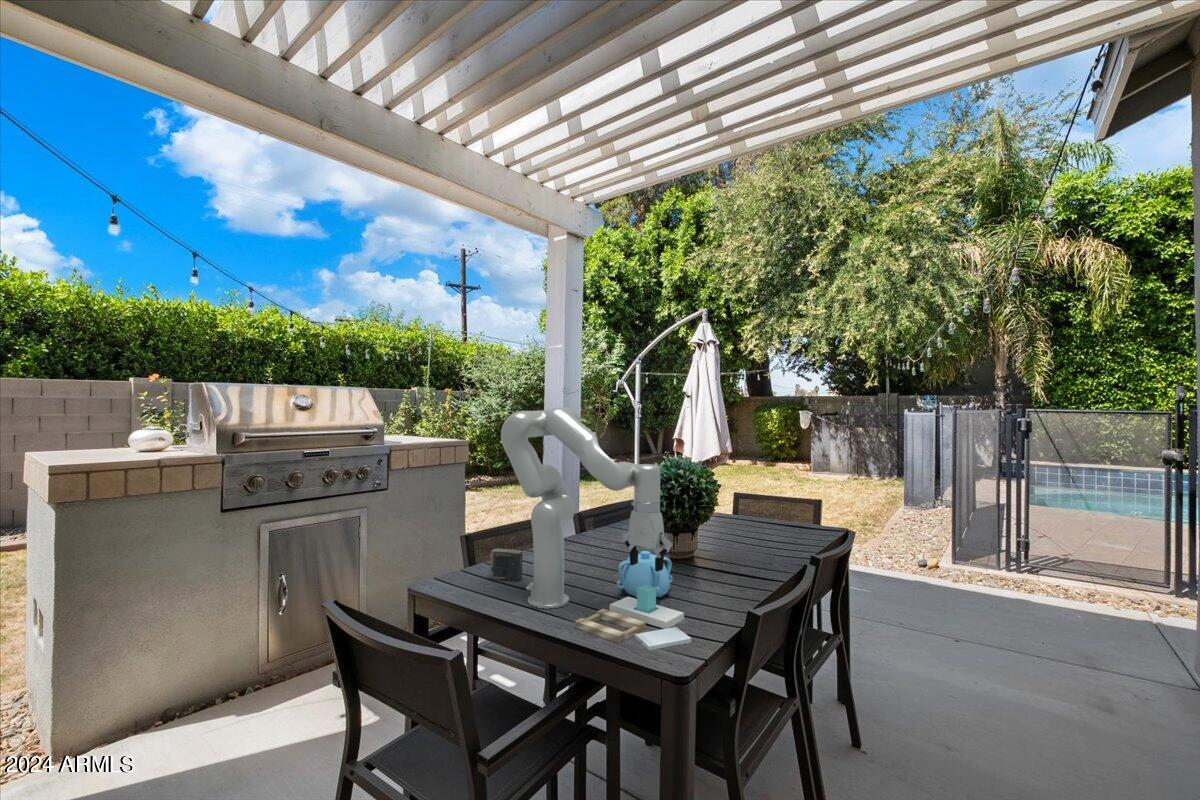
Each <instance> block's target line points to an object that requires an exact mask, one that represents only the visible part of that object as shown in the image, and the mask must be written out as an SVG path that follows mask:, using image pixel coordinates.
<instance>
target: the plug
mask: <svg viewBox="0 0 1200 800" xmlns="http://www.w3.org/2000/svg"><path fill="white" fill-rule="evenodd" d="M656 605H657V597H656V588H655V587H651V586H647V585H643V586H641V587H639V588H637V610H638V611H641V612H645V613H648V614H649V613H651V612H653V611H655V610H656Z"/></svg>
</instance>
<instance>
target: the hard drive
mask: <svg viewBox="0 0 1200 800" xmlns="http://www.w3.org/2000/svg"><path fill="white" fill-rule="evenodd" d="M633 638H634V639H636V640H637V641H638V642H639V643H640V644H641V645H643V647H645V649H646V650H648V651H651V650H656V649H657V650H658V649H662V648H668V646H669V647H673V645H674V646H678V645H679V644H680V645H684V643H685V644H689V643H690V642H691V643H692V638H691V637H690V636H689V635H688V634H687V633H685V632H684V631H682V630H681V629H679V628H678V627H677V626H672V627H670V628H667V629H663V628H660V629H655V630H652V631H645V632H639V633H637V634H634V635H633ZM691 643H690V644H691Z"/></svg>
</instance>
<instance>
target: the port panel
mask: <svg viewBox="0 0 1200 800" xmlns="http://www.w3.org/2000/svg"><path fill="white" fill-rule="evenodd" d="M608 611H612V612H615V613H618V614H621V615H624V616H627V617H630V618H634V619H637V620H640V621H643V622H646V624H649V625H651V626H653V627H654V626H655V627H658V628H660V629H667V628H673V627H675V625H677V624H679V623H681V622H683V621H684V620H685V613H684V612H683V611H681V610H680V611H678V610H676V609H672V608H668V607H666V606H662V605H658V604H656V610H655V611H653V612H651V613H649V614H648V613H645V612H641V611H638V610H637V599H636V597H631V596H626V597H624V598H622V599H619V600H616V601H614V602H613V603H610V604H609V610H608Z"/></svg>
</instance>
